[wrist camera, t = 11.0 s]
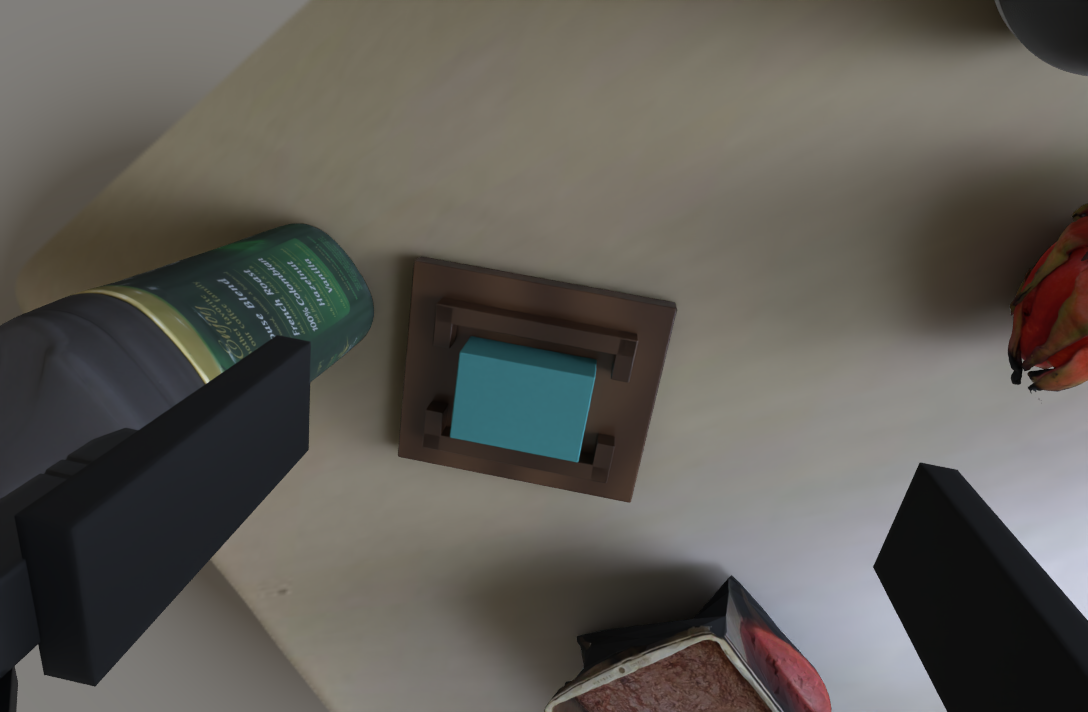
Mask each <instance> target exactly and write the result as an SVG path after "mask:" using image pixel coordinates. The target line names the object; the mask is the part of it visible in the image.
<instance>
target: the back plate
mask: <svg viewBox="0 0 1088 712" xmlns="http://www.w3.org/2000/svg"><path fill="white" fill-rule="evenodd" d="M676 312H677V308H676V304H675V303H674V302H669V301H664V300H658V299H653V298H647V297H642V296H636V295H631V294H625V293H620V292H614V291H609V290H603V289H598V288H592V287H587V286H581V285H576V284H570V283H565V282H559V281H554V280H548V279H543V278H537V277H532V276H526V275H521V274H515V273H510V272H504V271H499V270H493V269H488V268H482V267H477V266H471V265H466V264H460V263H455V262H449V261H444V260H438V259H433V258H427V257H422V256H421V257H419V258H418V259H416V260H415V261H414V268H413V280H412V292H411V304H410V316H409V328H408V340H407V352H406V364H405V376H404V388H403V400H402V412H401V424H400V436H399V448H398V456H399V457H403V458H408V459H413V460H418V461H423V462H428V463H433V464H438V465H443V466H448V467H453V468H458V469H463V470H468V471H473V472H478V473H483V474H488V475H493V476H498V477H503V478H508V479H514V480H519V481H524V482H529V483H534V484H539V485H544V486H549V487H554V488H559V489H564V490H569V491H574V492H579V493H584V494H589V495H594V496H599V497H604V498H609V499H614V500H619V501H624V502H631V499H632V495H633V491H634V487H635V482H636V478H637V474H638V470H639V466H640V462H641V457H642V453H643V449H644V445H645V441H646V437H647V432H648V428H649V424H650V420H651V416H652V412H653V408H654V403H655V399H656V395H657V391H658V387H659V383H660V378H661V374H662V370H663V366H664V362H665V358H666V354H667V349H668V345H669V341H670V337H671V333H672V329H673V324H674V320H675V316H676ZM470 336H473V337H479V338H484V339H489V340H495V341H500V342H505V343H511V344H516V345H521V346H527V347H532V348H537V349H543V350H548V351H553V352H558V353H564V354H569V355H574V356H580V357H585V358H590V359H596V360H597V366H596V375H595V382H594V387H593V392H592V396H591V401H590V406H589V411H588V416H587V421H586V426H585V431H584V436H583V441H582V446H581V451H580V456H579V461H578V462H572V461H567V460H562V459H557V458H552V457H547V456H542V455H537V454H532V453H526V452H521V451H516V450H511V449H506V448H501V447H496V446H491V445H486V444H481V443H476V442H471V441H465V440H460V439H455V438H451V437H450V429H451V421H452V412H453V403H454V395H455V386H456V377H457V369H458V360H459V353H460V351H461V350H462V348H463V347H464V345H465V344H466V342H467V341H468V339H469V338H470Z"/></svg>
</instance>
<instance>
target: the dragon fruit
mask: <svg viewBox="0 0 1088 712" xmlns="http://www.w3.org/2000/svg"><path fill="white" fill-rule="evenodd" d="M1072 217H1073V218H1074V222H1072V223H1071V224H1070V225H1068V226H1067V227H1066V229H1065V230H1064V231H1063V233H1062V234H1061V235H1060V237H1059V239H1058V241H1057V242H1055V243H1054V244H1053V245H1052V246H1051V247H1050V248H1049V249H1048V250H1047V251H1046V252H1045V253H1044V254H1043V255H1042V257H1041V258H1040V259H1039V261H1038V262H1037V264H1036V265H1035V267H1034V268H1033V269H1029V270H1028V272H1027V273H1026V274H1025V277H1024V280H1023V282H1022V284H1021V285H1020V287H1019V289H1018V291H1017V294H1016V297H1015V298H1014V300H1013V302H1012V303H1011V304H1010V309H1011V316H1012V315H1013V314H1014V316H1013V330H1012V335H1011V338H1010V341H1009V345H1008V356H1009V362H1010V365H1011V368H1012V369H1013V370H1014V372H1013V373H1012V375H1011V381H1012V383H1013V384H1017V385H1019V384H1021V378H1022V371H1023V369H1024V371H1027V370H1030V369H1031V367H1033V366H1036V367H1040V368H1042V369H1044V370H1038V371H1030V372H1028V376H1029V378H1030V379H1031V380H1032V382H1034V383H1033V384H1032V385H1030V387H1028V389H1029V390H1030V392H1031V390H1034V391H1035V392H1036V390H1039V391H1041V390H1048V391H1061V390H1065V389H1069V388H1072V387H1075V386H1078V385H1080V384H1082V383H1083V382H1085V381H1087V380H1088V204H1085V205H1083V206H1081V207H1080V208H1079V209H1077V210H1076V211H1075V212H1074V213H1073V215H1072ZM1022 359H1023V360H1025V361H1024V362H1023V363H1022ZM1050 367H1054V369H1047V368H1050ZM1031 394H1032V393H1031ZM1041 403H1042V402H1041Z"/></svg>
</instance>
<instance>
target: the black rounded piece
mask: <svg viewBox="0 0 1088 712" xmlns="http://www.w3.org/2000/svg"><path fill="white" fill-rule="evenodd" d="M995 3H996V6H997V8H998V11H999V13H1000V15H1001V17H1002V19H1003V20H1004V22H1005V23H1006V25H1007V26H1008V28H1009V29H1010V31H1011V32H1012V33H1013V34H1014V35H1015V36H1016V37H1017V38H1018V39H1019V40H1020V42H1021V43H1022V44H1023V45H1024V46H1025V47H1026V48H1027V49H1028V50H1029V51H1030V52H1031V53H1033V54H1034V55H1035V56H1037V57H1038V58H1039V59H1041V60H1042V61H1044V62H1046V63H1048V64H1049V65H1051V66H1053V67H1056V68H1058V69H1060V70H1063V71H1066V72H1070V73H1073V74H1078V75H1083V76H1088V0H995Z"/></svg>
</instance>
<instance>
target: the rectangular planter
mask: <svg viewBox="0 0 1088 712" xmlns="http://www.w3.org/2000/svg"><path fill="white" fill-rule="evenodd" d="M577 642H578V644H579V645H580V647H581V652H582V658H583V663H584V668H583V670H582V671H581V672H580V673H579V674H578V676H577V677H576V678H575V679H574V680H572V681H568V682H566V683H565V686H563V687H562V688H560V689H559V690H558V692H557V693H556V694H555V695H554V697H553V698H552V699H551V700H550V702H549V703H548V704H547V706H546V707H545V710H544V712H831V704H830V698H829V695H828V692H827V689H826V687H825V684H824V683H823V681H822V679H821V678H820V676H819V674H818V672H817V671H816V669H815V668H814V667H813V666H812V665H811V663H810V662H809V661H808V660H807V659H806V658H805V657H804V656H803V655H802V654H801V652H800V651H799V650H798V649H797V648H796V647H795V646H794V645H793V644H792V643H791V642H790V640H789V639H788V638H787V637H786V636H785V635H784V634H783V633H782V632H781V631H780V629H779V628H778V627H777V626H776V624H775V623H774V622H773V621H772V619H771V618H770V617H769V616H768V614H767V613H766V612H765V611H764V610H763V608H762V607H761V606H760V605H759V604H758V603H757V602H756V601H755V600H754V598H753V597H752V596H751V595H750V594H749V593H748V592H747V591H746V590H745V588H744V587H743V586H742V585H741V584H740V583H739V582H738V581H737V580H736V579H735V578H734V577H733V576H732V575H731V576H730V577H729V578H728V579H727V580H726V582H725V583H724V584H723V585H722V586H721V587H720V589H719V590H718V591H717V592H716V593H715V594H714V596H713V597H712V598H711V599H710V600H709V601H708V603H707V604H706V605H705V606H704V607H703V608H702V610H701V611H700V612H699V613H698V614H697V615H696V617H695V618H694V619H691V620H683V621H675V622H667V623H659V624H651V625H643V626H635V627H627V628H618V629H610V630H603V631H599V632H595V633H590V634H586V635H582V636H577Z"/></svg>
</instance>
